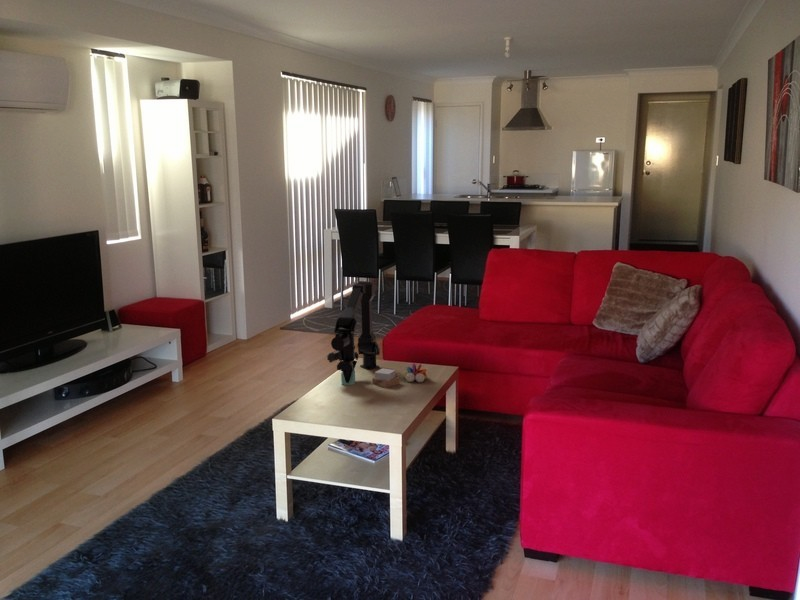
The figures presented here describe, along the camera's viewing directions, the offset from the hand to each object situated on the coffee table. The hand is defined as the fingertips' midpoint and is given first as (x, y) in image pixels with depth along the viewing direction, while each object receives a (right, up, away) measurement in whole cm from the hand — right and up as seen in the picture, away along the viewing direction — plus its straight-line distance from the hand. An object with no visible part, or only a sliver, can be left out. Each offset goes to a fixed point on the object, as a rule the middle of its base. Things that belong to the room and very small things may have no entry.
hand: (348, 380), depth 296 cm
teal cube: (0, -1, 0) cm, 1 cm away
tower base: (+16, -2, -1) cm, 16 cm away
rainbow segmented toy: (+28, 0, +3) cm, 29 cm away
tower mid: (+16, +1, -2) cm, 16 cm away
